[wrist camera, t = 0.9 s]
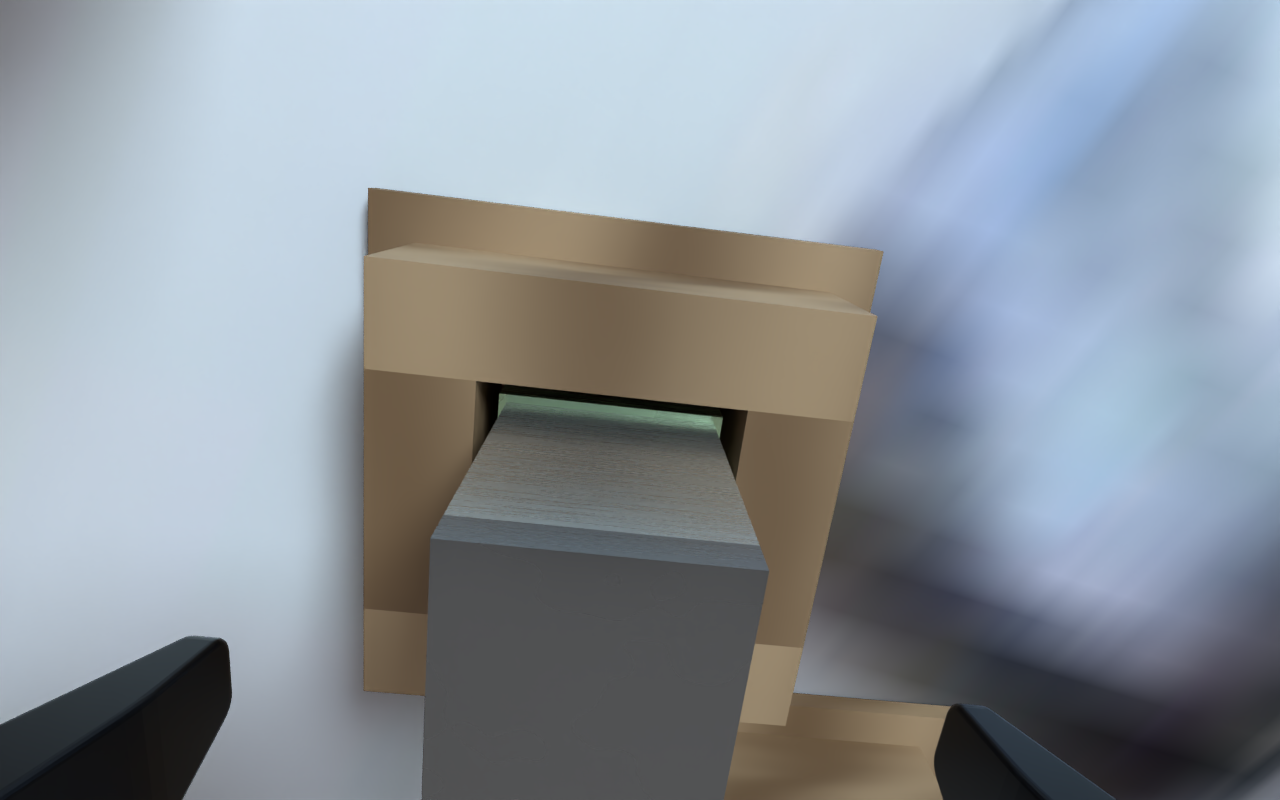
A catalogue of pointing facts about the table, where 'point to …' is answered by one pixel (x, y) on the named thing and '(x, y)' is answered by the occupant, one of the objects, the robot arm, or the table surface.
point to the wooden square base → (839, 752)
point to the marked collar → (602, 382)
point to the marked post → (590, 606)
